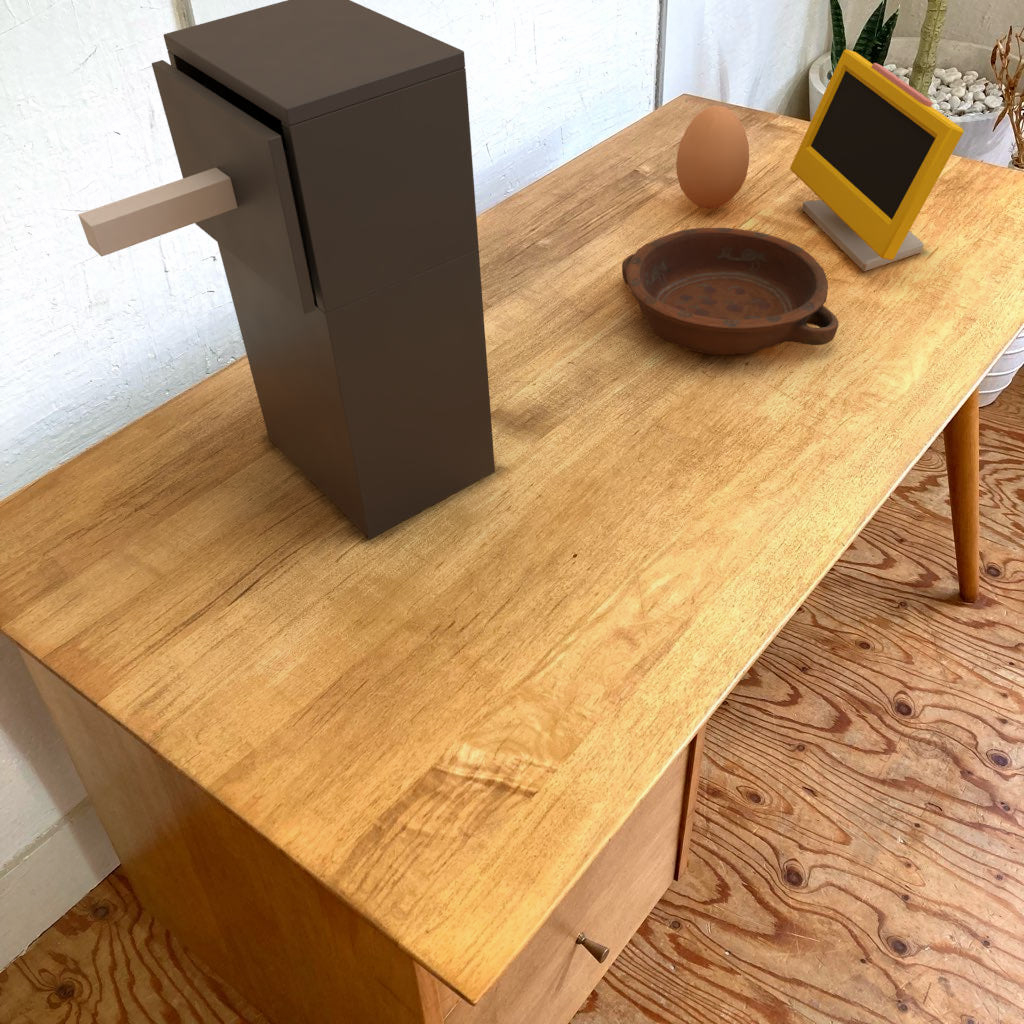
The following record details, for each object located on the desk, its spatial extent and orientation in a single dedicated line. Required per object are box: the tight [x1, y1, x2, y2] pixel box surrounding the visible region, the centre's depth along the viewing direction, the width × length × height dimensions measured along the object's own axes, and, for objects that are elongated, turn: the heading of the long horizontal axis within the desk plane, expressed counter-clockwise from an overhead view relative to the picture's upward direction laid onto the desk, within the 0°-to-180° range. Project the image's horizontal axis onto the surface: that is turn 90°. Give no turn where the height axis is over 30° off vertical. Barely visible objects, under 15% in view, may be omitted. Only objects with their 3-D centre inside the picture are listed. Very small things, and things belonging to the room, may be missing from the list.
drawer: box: [77, 59, 316, 314], centre depth 66 cm, size 21×16×11 cm
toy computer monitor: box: [789, 48, 964, 272], centre depth 104 cm, size 20×8×16 cm, turn 14°
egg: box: [675, 105, 750, 210], centre depth 111 cm, size 8×8×11 cm
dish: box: [621, 227, 839, 356], centre depth 97 cm, size 18×22×5 cm
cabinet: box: [163, 0, 496, 540], centre depth 75 cm, size 12×16×33 cm
